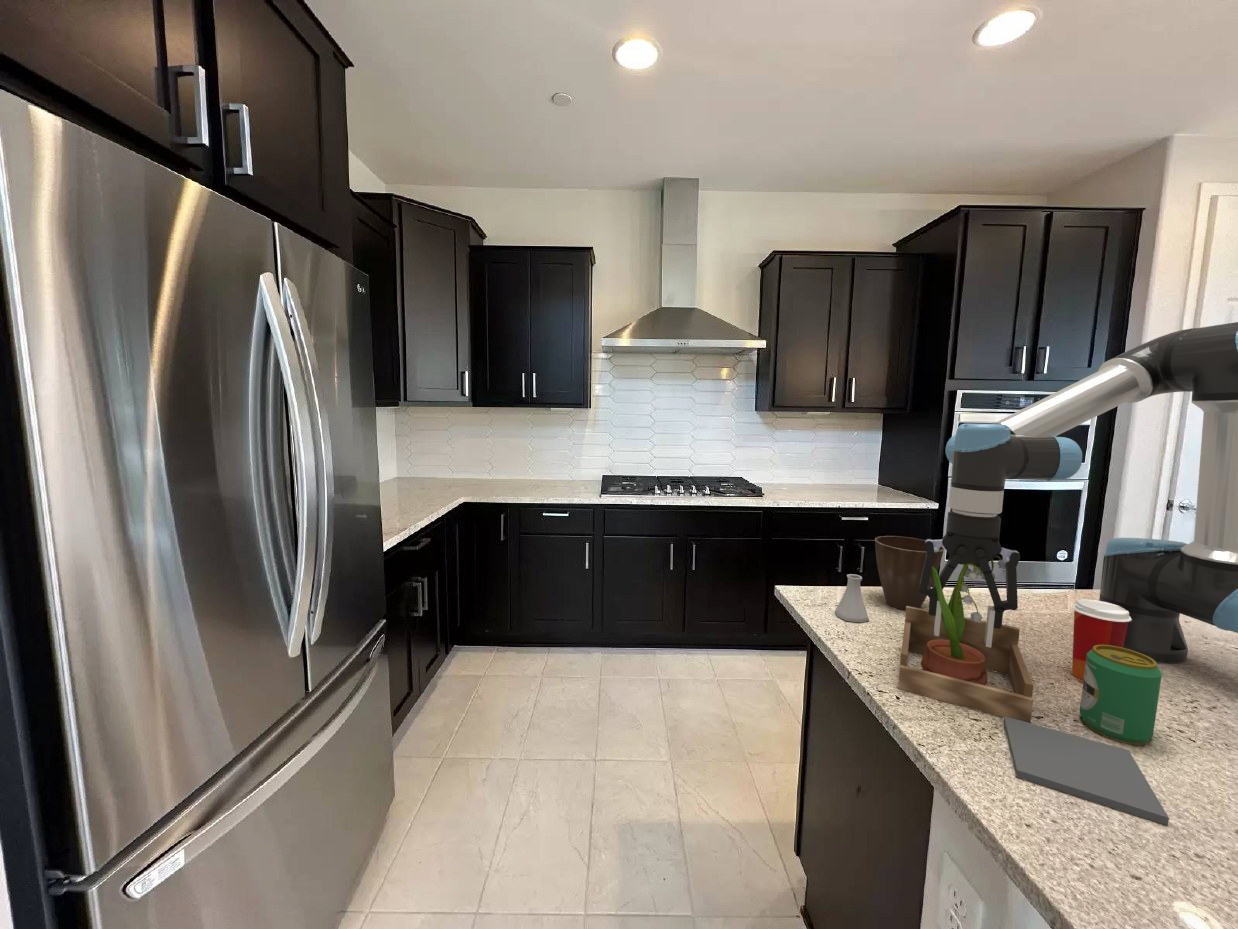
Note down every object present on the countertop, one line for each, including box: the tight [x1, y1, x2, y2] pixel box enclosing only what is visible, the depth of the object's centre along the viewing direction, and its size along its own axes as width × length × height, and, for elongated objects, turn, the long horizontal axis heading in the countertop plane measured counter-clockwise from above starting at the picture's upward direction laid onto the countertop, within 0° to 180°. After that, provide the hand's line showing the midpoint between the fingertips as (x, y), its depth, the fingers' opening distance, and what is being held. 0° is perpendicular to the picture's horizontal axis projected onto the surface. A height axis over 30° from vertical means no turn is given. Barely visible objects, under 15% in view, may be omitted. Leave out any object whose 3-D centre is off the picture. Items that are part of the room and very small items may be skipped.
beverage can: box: [1078, 645, 1163, 746], centre depth 75 cm, size 8×8×12 cm
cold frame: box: [897, 606, 1034, 723], centre depth 88 cm, size 18×18×9 cm
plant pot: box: [874, 535, 945, 610], centre depth 124 cm, size 15×15×16 cm
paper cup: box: [1071, 598, 1132, 682], centre depth 90 cm, size 8×8×14 cm
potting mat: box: [1002, 716, 1170, 826], centre depth 67 cm, size 14×14×1 cm
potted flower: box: [920, 555, 1006, 686], centre depth 87 cm, size 12×10×25 cm
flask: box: [834, 573, 870, 623], centre depth 116 cm, size 7×7×10 cm
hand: (961, 638), depth 88 cm, fingers open, 7 cm apart
